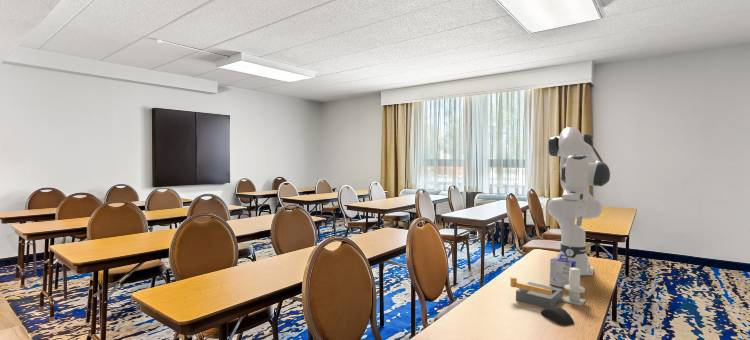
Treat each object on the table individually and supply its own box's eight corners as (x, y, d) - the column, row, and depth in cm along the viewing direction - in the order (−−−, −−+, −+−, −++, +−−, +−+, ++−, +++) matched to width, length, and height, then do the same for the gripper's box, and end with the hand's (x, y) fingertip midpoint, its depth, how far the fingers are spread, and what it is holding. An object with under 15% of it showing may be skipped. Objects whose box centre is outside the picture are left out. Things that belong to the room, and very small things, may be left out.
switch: (529, 290, 172) (529, 279, 172) (562, 298, 163) (562, 286, 163) (515, 299, 161) (516, 288, 161) (550, 309, 152) (550, 296, 151)
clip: (511, 284, 164) (512, 276, 164) (552, 294, 153) (552, 285, 153) (509, 286, 162) (509, 278, 162) (550, 296, 151) (550, 287, 151)
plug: (567, 295, 165) (567, 265, 164) (586, 299, 160) (587, 268, 159) (561, 300, 159) (562, 269, 159) (581, 304, 154) (582, 273, 154)
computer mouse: (552, 312, 149) (552, 302, 149) (576, 324, 139) (576, 313, 138) (539, 314, 147) (539, 304, 147) (562, 327, 136) (562, 316, 136)
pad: (567, 297, 165) (567, 295, 165) (585, 301, 160) (585, 299, 160) (562, 301, 159) (562, 300, 159) (581, 306, 155) (581, 304, 155)
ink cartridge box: (576, 287, 177) (576, 256, 176) (571, 290, 173) (571, 258, 173) (554, 282, 184) (555, 252, 184) (549, 284, 181) (549, 254, 180)
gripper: (575, 191, 168) (574, 223, 168) (560, 195, 153) (560, 229, 153) (591, 192, 163) (590, 225, 164) (578, 196, 148) (577, 231, 149)
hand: (575, 227), depth 158 cm, fingers open, 8 cm apart
